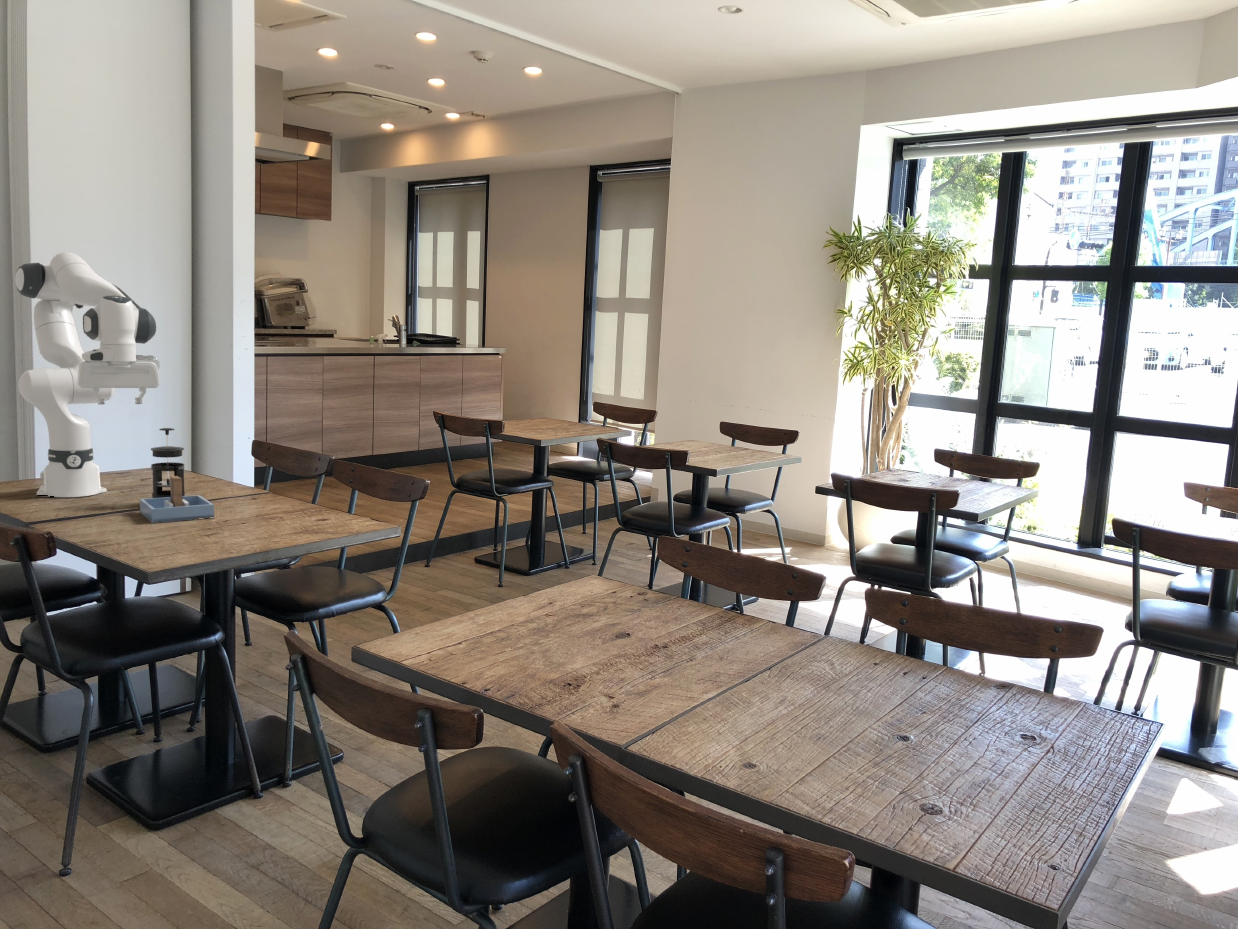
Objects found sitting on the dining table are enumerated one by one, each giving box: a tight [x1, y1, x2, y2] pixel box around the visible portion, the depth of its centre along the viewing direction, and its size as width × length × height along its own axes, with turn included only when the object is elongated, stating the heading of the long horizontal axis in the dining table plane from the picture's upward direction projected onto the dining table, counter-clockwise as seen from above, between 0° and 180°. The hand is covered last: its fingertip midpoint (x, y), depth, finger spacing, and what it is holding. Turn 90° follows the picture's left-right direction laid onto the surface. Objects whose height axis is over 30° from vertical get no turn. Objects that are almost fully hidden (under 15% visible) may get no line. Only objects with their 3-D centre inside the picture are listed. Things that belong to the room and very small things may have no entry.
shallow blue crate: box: [139, 494, 215, 524], centre depth 263 cm, size 16×16×4 cm
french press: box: [150, 427, 186, 498], centre depth 277 cm, size 12×9×23 cm
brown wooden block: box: [169, 475, 183, 507], centre depth 263 cm, size 5×2×10 cm, turn 38°
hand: (120, 404), depth 260 cm, fingers open, 8 cm apart
